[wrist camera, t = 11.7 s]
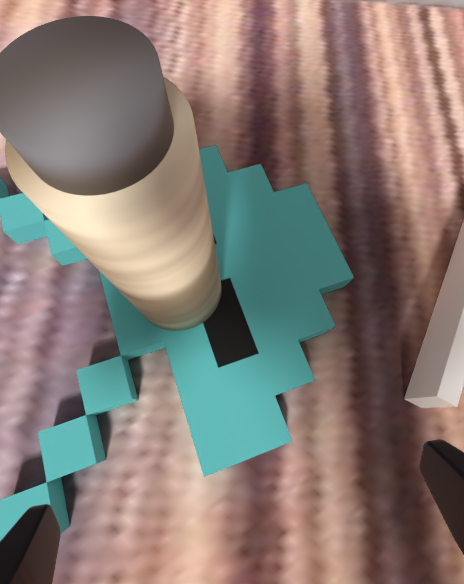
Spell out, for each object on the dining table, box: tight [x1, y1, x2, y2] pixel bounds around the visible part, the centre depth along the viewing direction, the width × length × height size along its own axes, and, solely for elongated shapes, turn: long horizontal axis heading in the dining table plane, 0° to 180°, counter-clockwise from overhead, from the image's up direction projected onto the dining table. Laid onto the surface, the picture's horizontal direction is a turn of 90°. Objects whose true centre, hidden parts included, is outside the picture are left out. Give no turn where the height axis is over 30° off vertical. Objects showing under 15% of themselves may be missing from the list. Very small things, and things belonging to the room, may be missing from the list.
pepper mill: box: [0, 16, 222, 331], centre depth 13 cm, size 5×5×12 cm
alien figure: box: [0, 145, 354, 541], centre depth 20 cm, size 20×2×20 cm
